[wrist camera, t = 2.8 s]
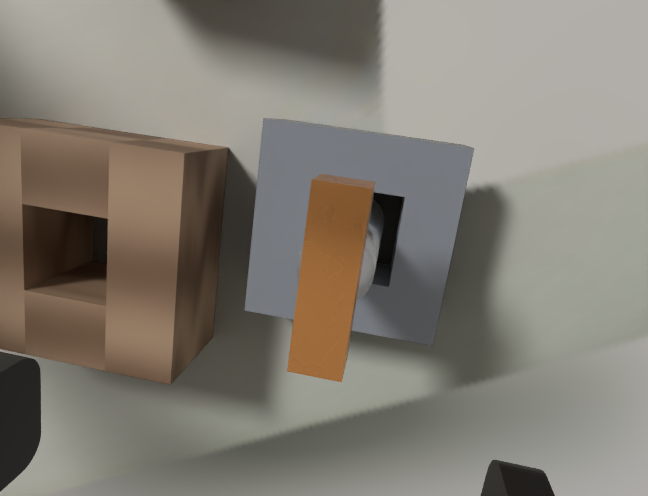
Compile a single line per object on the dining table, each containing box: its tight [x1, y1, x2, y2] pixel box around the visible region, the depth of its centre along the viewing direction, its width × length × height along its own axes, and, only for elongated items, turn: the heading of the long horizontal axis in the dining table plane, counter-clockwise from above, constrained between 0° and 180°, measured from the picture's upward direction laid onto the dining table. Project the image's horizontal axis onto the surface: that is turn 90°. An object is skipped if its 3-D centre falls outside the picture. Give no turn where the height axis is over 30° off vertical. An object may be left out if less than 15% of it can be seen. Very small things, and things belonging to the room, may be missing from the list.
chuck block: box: [0, 118, 228, 385], centre depth 28 cm, size 12×12×6 cm
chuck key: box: [287, 174, 384, 382], centre depth 23 cm, size 7×3×12 cm, turn 172°
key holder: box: [245, 118, 474, 346], centre depth 27 cm, size 10×10×4 cm
